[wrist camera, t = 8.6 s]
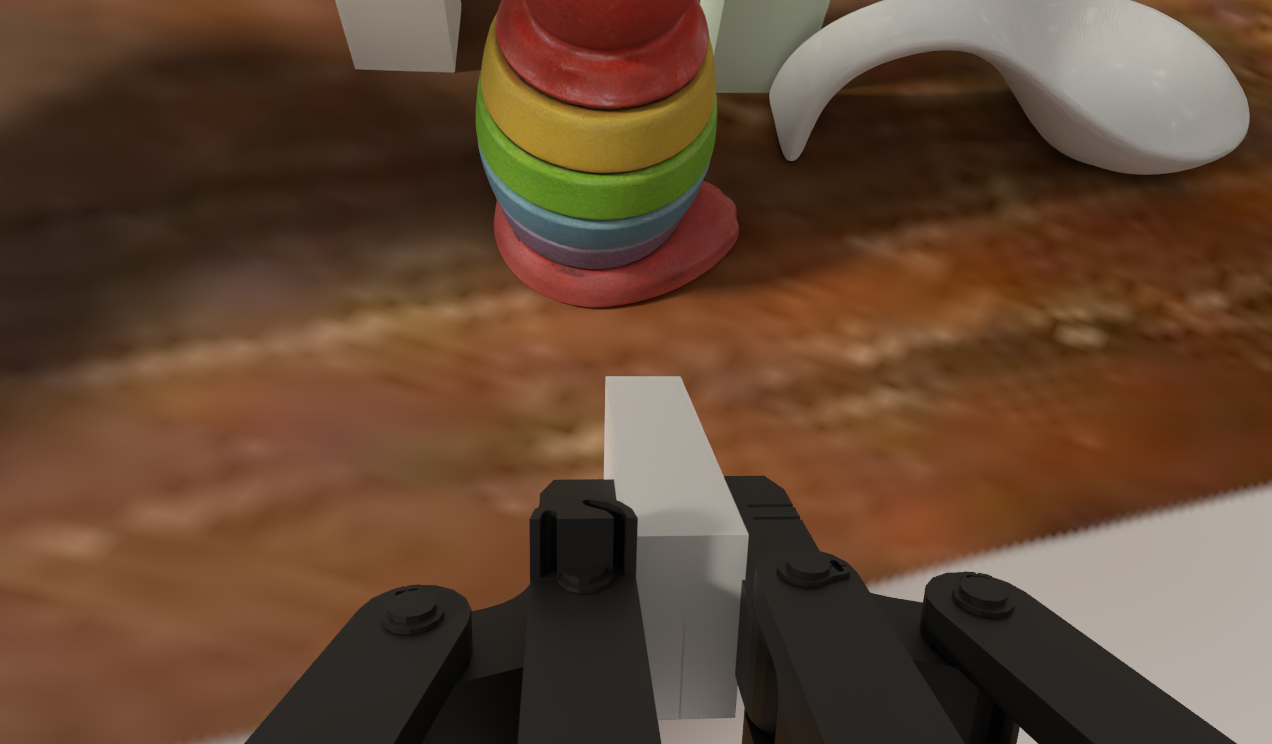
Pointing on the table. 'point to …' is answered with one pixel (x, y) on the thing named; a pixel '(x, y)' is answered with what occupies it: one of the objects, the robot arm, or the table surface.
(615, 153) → the stacking bear
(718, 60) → the sage-green block
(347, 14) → the off-white block
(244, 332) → the table surface
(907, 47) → the spoon rest
